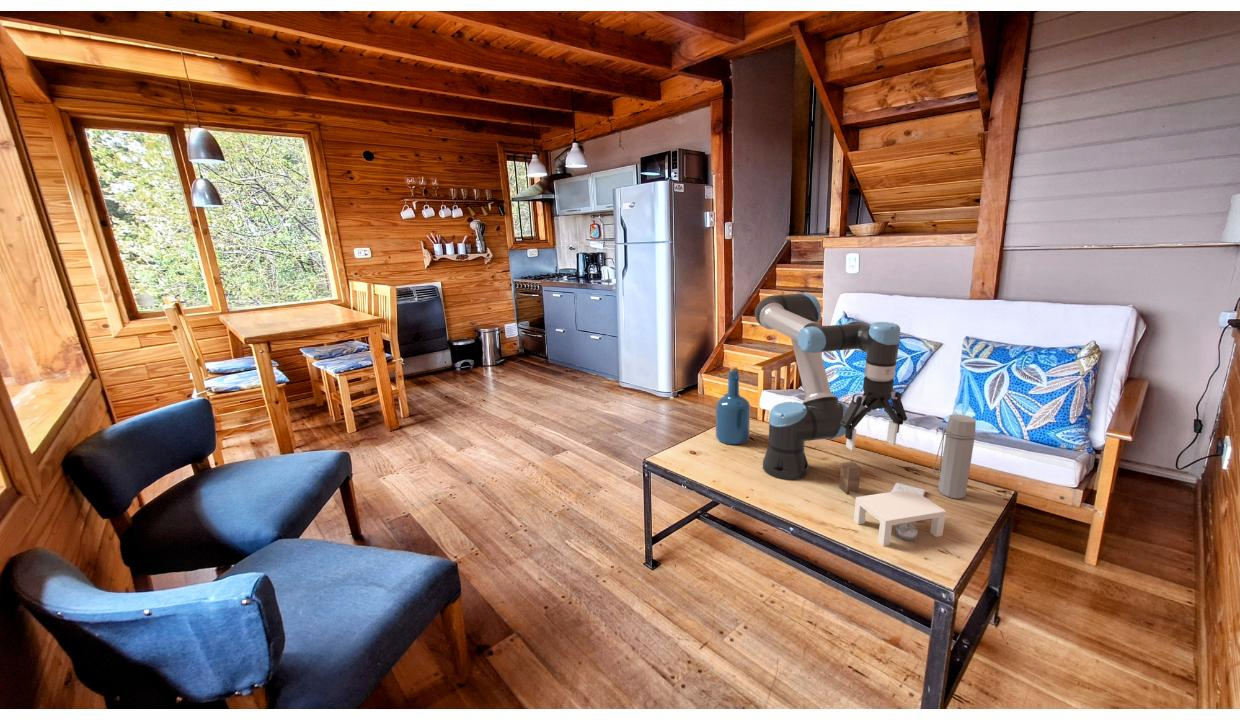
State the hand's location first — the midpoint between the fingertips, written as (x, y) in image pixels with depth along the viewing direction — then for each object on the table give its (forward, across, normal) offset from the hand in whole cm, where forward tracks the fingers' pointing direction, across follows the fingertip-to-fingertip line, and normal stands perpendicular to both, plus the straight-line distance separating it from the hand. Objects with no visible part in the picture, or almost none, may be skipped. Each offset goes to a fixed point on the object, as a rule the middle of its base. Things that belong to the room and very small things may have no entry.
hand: (870, 445), depth 143 cm
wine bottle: (+21, -19, +54) cm, 61 cm away
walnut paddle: (+19, 0, -1) cm, 19 cm away
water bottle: (+19, +28, -2) cm, 33 cm away
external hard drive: (+19, +14, -2) cm, 24 cm away
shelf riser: (+18, 0, -14) cm, 23 cm away
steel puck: (+18, 0, -18) cm, 26 cm away
